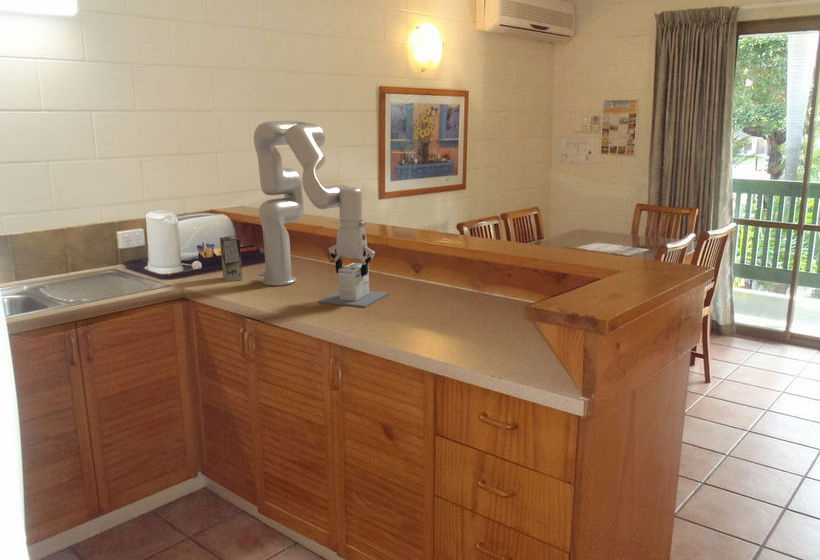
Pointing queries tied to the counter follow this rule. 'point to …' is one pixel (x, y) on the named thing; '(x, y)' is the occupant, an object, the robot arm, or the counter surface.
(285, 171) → the robot arm
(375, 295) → the mat
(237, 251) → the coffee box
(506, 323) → the counter surface
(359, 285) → the light bulb box
